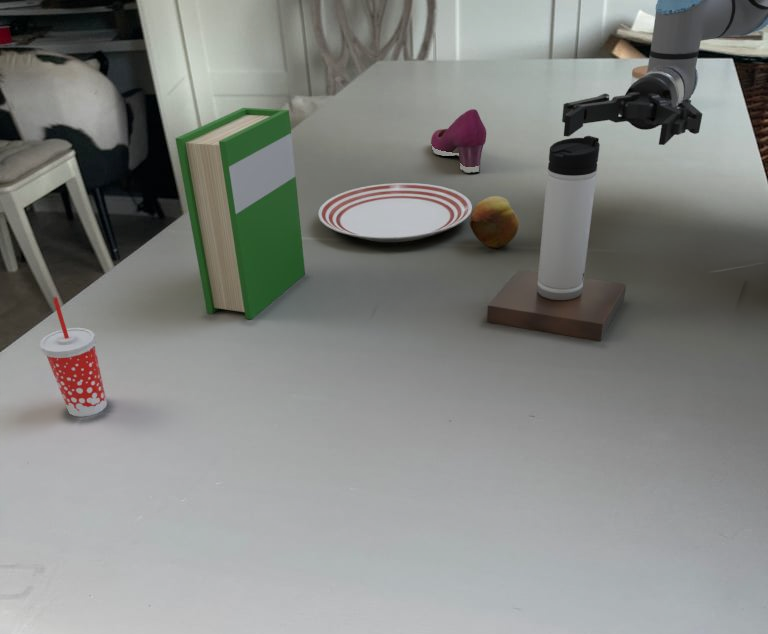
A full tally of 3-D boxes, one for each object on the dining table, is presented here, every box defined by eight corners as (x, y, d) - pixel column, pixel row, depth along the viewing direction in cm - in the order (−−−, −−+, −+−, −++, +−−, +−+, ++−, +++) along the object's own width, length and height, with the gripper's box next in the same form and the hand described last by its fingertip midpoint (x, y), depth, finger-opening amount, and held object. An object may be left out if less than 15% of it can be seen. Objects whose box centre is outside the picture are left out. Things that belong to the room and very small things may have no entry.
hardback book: (251, 319, 116) (225, 141, 101) (207, 312, 119) (175, 138, 104) (305, 274, 129) (288, 110, 114) (264, 268, 131) (243, 107, 116)
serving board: (623, 300, 117) (626, 284, 116) (600, 341, 107) (603, 323, 106) (518, 284, 123) (519, 268, 121) (486, 322, 113) (487, 305, 111)
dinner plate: (446, 259, 132) (446, 239, 130) (294, 244, 140) (292, 224, 138) (488, 206, 152) (489, 188, 150) (353, 195, 160) (352, 178, 158)
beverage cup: (114, 414, 97) (83, 304, 88) (60, 423, 95) (24, 313, 87) (112, 390, 101) (83, 283, 93) (62, 399, 100) (27, 291, 91)
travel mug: (592, 292, 114) (613, 141, 101) (558, 305, 111) (575, 150, 98) (561, 279, 118) (577, 131, 105) (527, 290, 115) (539, 140, 102)
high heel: (454, 143, 188) (455, 84, 181) (500, 171, 169) (503, 107, 161) (419, 147, 186) (419, 88, 179) (462, 177, 167) (463, 112, 159)
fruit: (512, 256, 132) (516, 206, 127) (463, 252, 134) (464, 202, 129) (521, 240, 137) (525, 192, 133) (474, 236, 140) (476, 188, 135)
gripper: (730, 131, 124) (700, 167, 110) (574, 118, 135) (527, 150, 120) (741, 76, 120) (711, 107, 105) (579, 68, 130) (531, 94, 116)
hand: (613, 130), depth 113 cm, fingers open, 13 cm apart
